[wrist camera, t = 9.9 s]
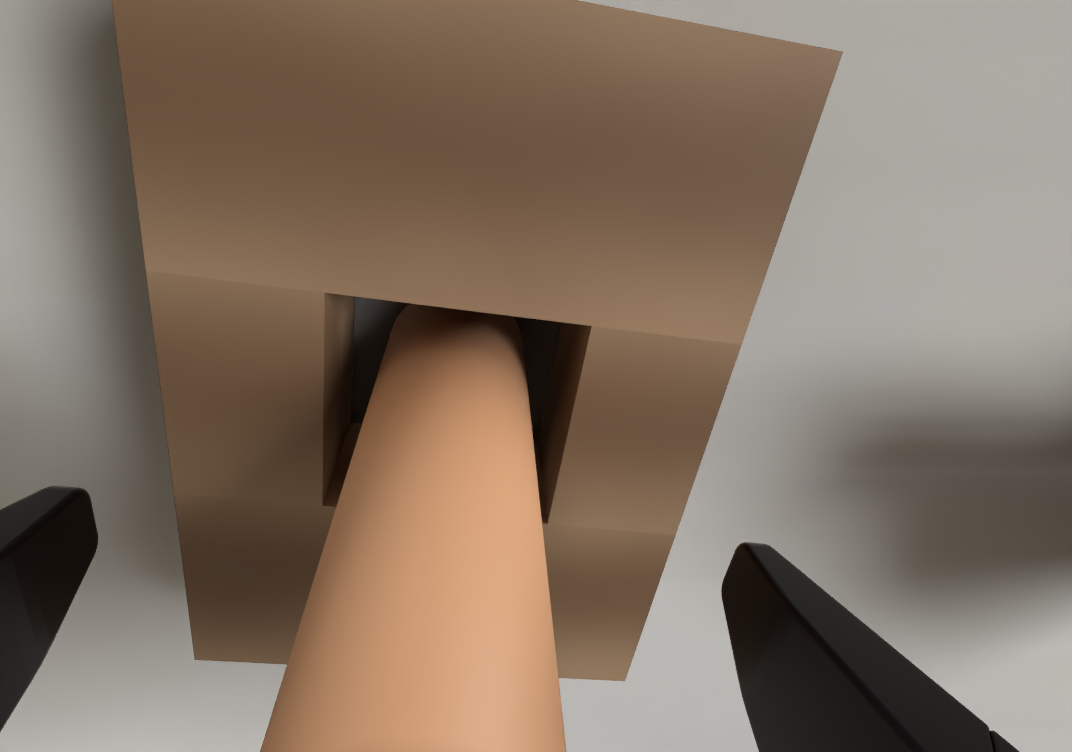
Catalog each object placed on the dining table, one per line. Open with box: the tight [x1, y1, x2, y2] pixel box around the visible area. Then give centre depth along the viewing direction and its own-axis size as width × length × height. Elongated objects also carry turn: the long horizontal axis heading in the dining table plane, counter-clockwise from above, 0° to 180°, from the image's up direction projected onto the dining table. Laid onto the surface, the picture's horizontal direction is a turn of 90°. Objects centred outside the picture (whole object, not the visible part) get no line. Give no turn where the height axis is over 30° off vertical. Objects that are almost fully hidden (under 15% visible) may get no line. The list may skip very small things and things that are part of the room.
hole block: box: [112, 0, 843, 681], centre depth 13 cm, size 14×10×3 cm
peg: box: [260, 303, 566, 752], centre depth 10 cm, size 3×3×10 cm
